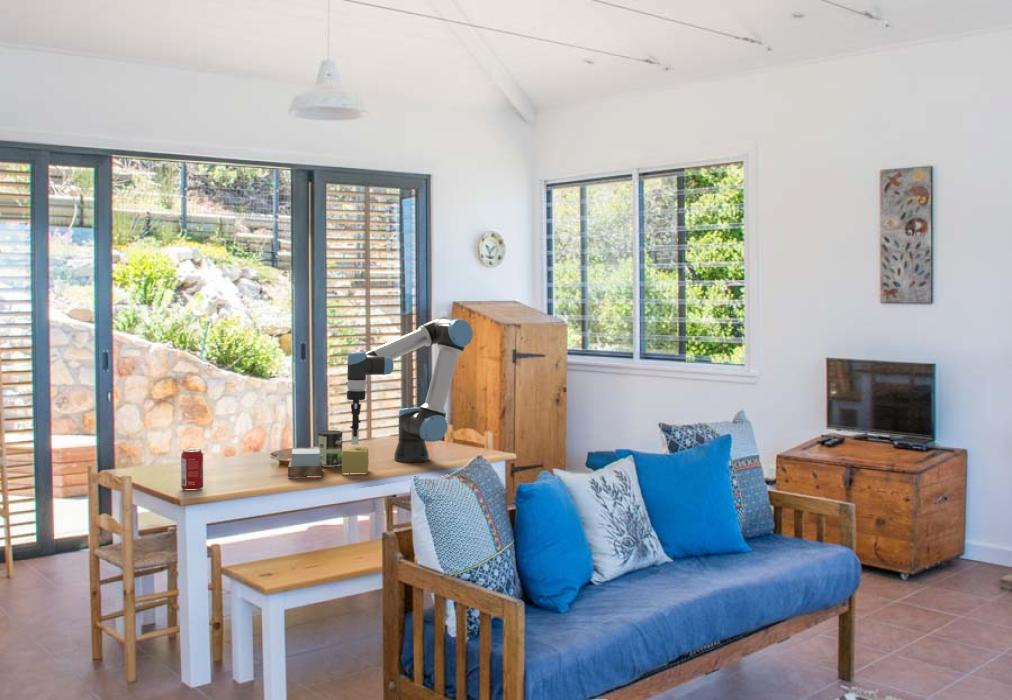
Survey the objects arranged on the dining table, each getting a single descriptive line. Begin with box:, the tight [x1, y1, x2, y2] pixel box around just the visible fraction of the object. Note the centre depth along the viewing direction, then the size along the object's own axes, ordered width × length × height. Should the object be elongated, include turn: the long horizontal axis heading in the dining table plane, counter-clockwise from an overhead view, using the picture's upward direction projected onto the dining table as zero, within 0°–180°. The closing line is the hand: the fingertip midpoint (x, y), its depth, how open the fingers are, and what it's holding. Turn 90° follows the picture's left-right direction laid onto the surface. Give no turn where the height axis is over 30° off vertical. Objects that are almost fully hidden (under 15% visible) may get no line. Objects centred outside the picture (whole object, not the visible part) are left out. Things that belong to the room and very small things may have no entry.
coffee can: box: [317, 429, 344, 468], centre depth 431 cm, size 10×10×14 cm
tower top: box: [290, 448, 320, 466], centre depth 410 cm, size 11×11×5 cm
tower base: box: [287, 460, 323, 478], centre depth 411 cm, size 13×13×5 cm
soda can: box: [180, 448, 204, 490], centre depth 379 cm, size 8×8×15 cm
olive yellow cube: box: [341, 446, 370, 474], centre depth 416 cm, size 10×11×10 cm
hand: (355, 441), depth 415 cm, fingers open, 13 cm apart
